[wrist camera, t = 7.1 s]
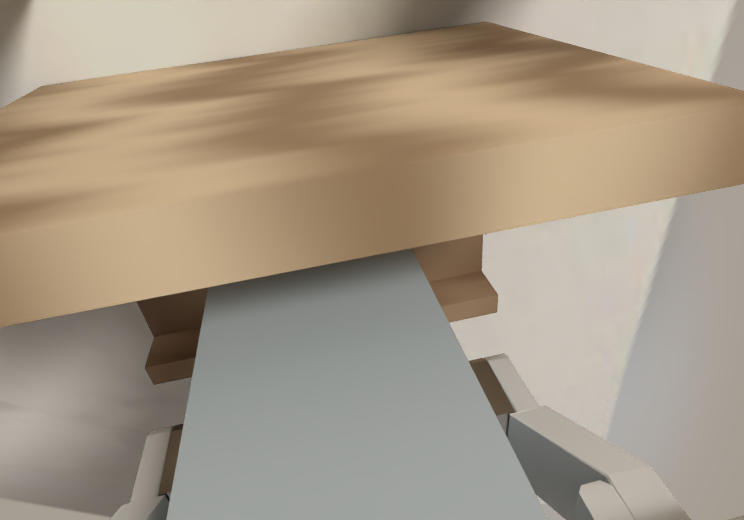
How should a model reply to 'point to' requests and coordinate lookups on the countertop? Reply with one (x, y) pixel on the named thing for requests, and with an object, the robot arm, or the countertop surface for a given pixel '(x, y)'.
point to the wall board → (334, 168)
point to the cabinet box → (340, 405)
